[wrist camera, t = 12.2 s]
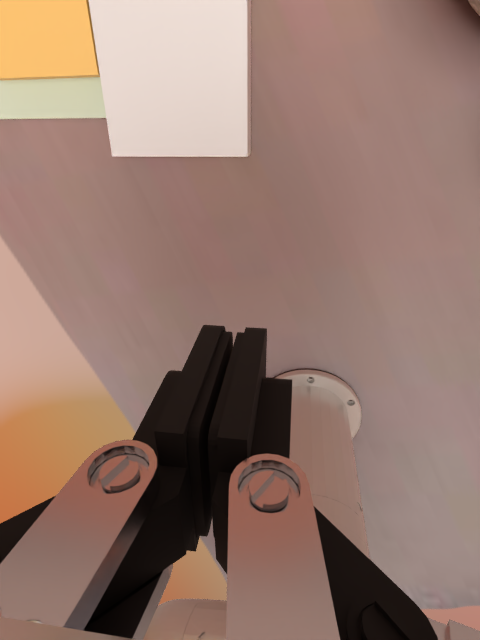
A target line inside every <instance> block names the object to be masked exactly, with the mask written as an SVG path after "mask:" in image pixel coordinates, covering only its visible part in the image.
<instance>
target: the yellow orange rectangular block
mask: <svg viewBox="0 0 480 640" xmlns="http://www.w3.org/2000/svg"><path fill="white" fill-rule="evenodd" d="M87 77H100V73H99V66H98V59H97V53H96V46H95V40H94V33H93V27H92V20H91V13H90V7H89V0H0V80H2V81H4V80H32V79H59V78H87Z"/></svg>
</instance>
